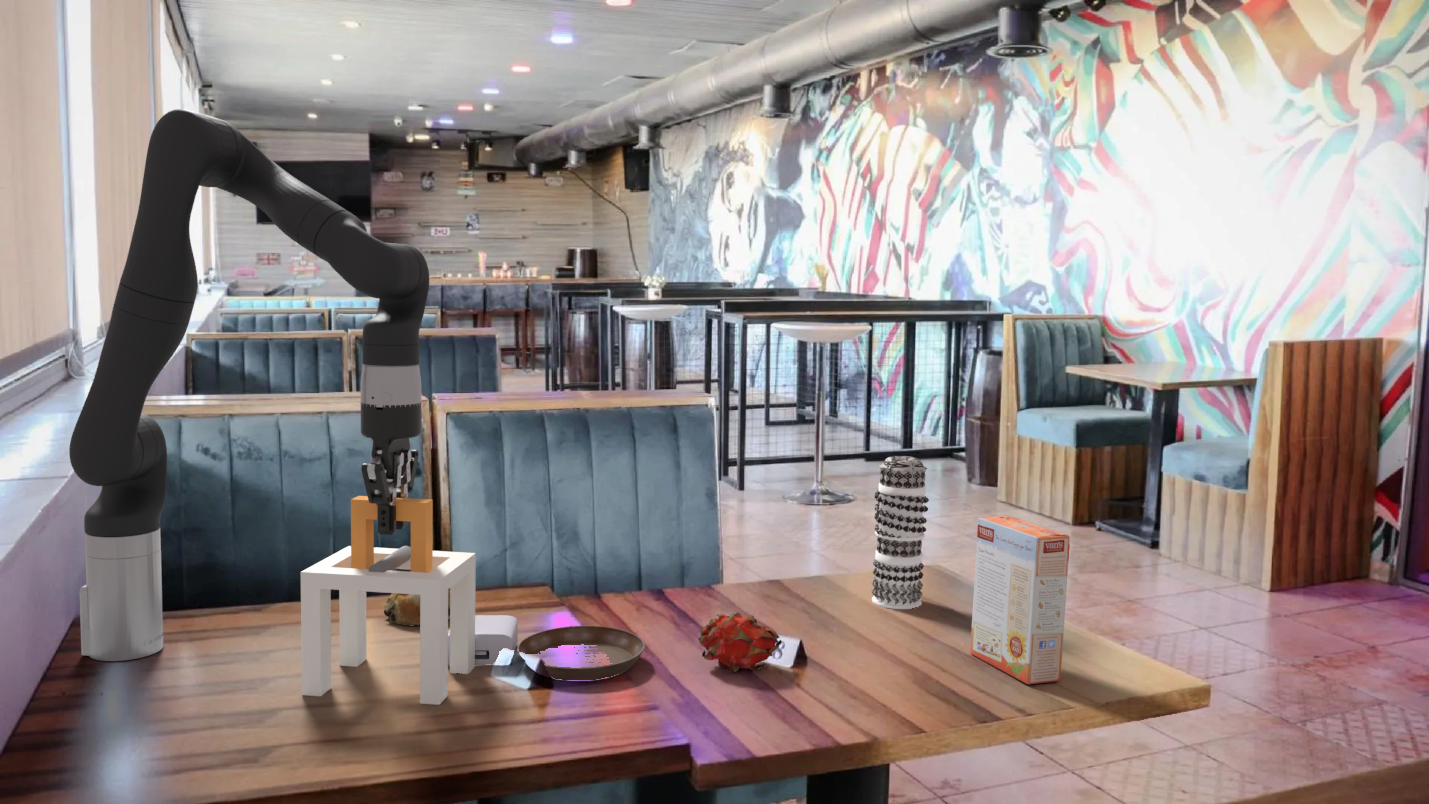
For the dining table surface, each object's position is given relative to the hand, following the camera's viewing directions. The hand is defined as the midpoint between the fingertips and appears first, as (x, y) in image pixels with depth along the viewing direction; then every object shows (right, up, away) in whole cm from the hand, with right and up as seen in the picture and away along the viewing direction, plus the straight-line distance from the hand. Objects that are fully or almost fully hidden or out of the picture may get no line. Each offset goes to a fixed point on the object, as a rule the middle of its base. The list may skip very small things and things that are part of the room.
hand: (391, 530), depth 145 cm
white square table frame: (-1, -20, +2) cm, 20 cm away
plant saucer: (+23, -20, +11) cm, 33 cm away
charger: (+9, -19, +16) cm, 27 cm away
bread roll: (-4, -17, +29) cm, 34 cm away
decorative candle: (+73, -18, +46) cm, 88 cm away
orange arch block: (0, -6, +1) cm, 6 cm away
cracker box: (+85, -22, +15) cm, 89 cm away
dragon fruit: (+46, -21, +12) cm, 51 cm away
